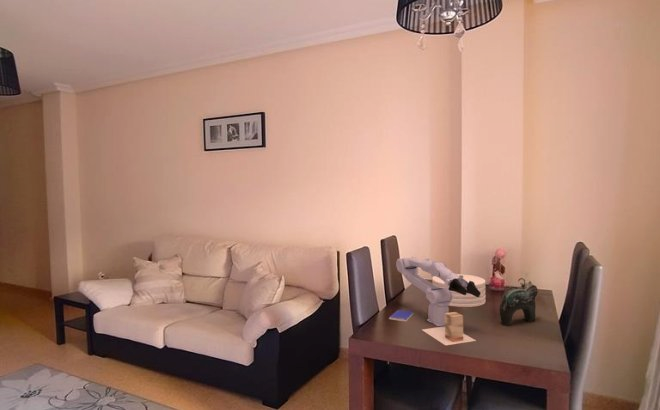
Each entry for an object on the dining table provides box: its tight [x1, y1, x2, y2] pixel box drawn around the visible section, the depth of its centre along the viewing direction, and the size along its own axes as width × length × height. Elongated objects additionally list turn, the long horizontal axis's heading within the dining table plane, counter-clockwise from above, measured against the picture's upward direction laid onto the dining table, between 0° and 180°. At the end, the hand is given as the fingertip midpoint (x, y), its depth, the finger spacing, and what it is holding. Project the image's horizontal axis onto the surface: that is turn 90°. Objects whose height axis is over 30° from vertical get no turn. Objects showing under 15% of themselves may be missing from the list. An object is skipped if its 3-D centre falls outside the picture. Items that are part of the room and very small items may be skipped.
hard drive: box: [388, 309, 414, 322], centre depth 183 cm, size 2×8×12 cm
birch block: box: [444, 311, 464, 342], centre depth 152 cm, size 5×5×10 cm
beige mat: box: [422, 325, 477, 346], centre depth 157 cm, size 18×14×1 cm
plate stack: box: [431, 273, 487, 308], centre depth 210 cm, size 28×28×12 cm
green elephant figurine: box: [499, 277, 538, 327], centre depth 171 cm, size 20×6×20 cm, turn 111°
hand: (472, 294), depth 153 cm, fingers open, 7 cm apart
